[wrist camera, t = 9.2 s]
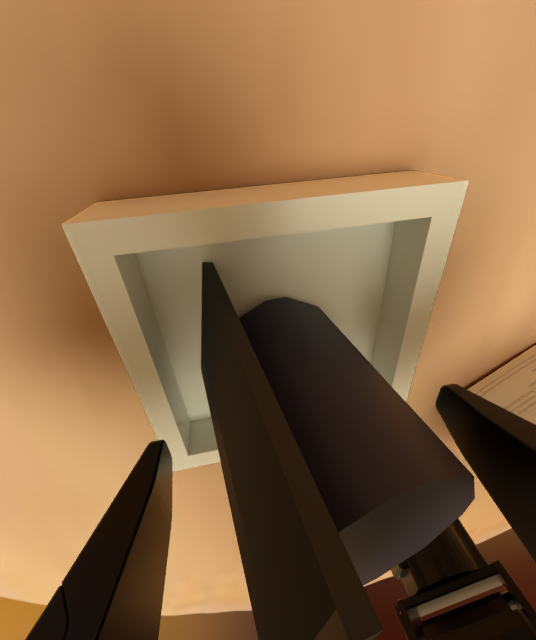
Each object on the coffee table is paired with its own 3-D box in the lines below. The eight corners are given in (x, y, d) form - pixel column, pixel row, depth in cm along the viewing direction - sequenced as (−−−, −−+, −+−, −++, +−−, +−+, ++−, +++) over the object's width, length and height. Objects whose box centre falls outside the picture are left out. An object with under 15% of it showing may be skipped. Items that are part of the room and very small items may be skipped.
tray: (412, 169, 12) (469, 180, 9) (373, 384, 18) (399, 424, 16) (96, 202, 10) (61, 224, 8) (177, 421, 17) (172, 471, 14)
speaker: (155, 372, 13) (142, 794, 5) (203, 257, 11) (327, 651, 3) (292, 395, 17) (421, 660, 8) (348, 311, 15) (596, 553, 6)
